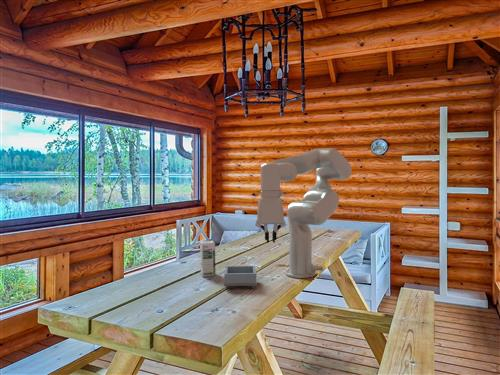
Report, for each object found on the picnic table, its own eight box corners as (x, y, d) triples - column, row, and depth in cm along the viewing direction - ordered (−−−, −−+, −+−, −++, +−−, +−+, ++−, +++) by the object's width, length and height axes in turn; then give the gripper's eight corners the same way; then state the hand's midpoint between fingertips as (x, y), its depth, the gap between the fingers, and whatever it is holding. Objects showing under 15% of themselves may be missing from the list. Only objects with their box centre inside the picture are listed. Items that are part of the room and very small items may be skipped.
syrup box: (202, 277, 159) (201, 243, 158) (200, 273, 165) (199, 240, 164) (215, 276, 161) (215, 242, 160) (213, 272, 166) (212, 239, 166)
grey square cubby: (255, 280, 153) (254, 265, 153) (256, 289, 141) (256, 273, 141) (225, 280, 153) (225, 266, 153) (224, 289, 141) (224, 274, 141)
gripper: (289, 194, 150) (289, 239, 151) (249, 194, 149) (250, 240, 150) (292, 195, 142) (292, 243, 143) (250, 195, 142) (250, 244, 143)
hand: (270, 241), depth 147 cm, fingers closed
